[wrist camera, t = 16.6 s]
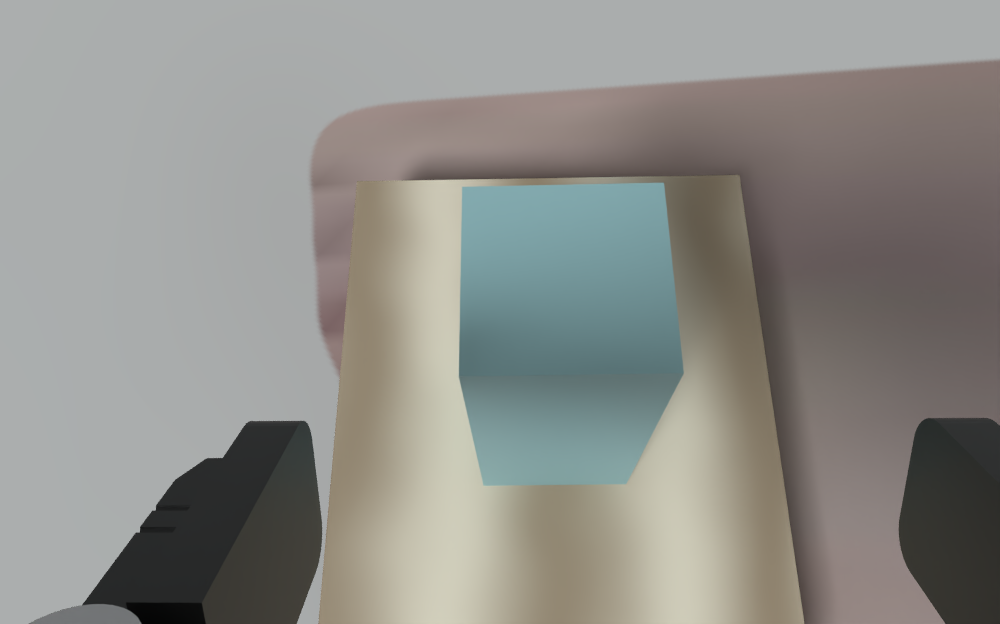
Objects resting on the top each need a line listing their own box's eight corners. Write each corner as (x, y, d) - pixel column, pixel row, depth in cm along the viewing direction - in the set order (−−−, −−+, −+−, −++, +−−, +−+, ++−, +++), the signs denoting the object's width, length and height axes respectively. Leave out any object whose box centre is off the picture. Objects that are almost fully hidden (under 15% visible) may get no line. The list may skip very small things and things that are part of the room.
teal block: (616, 351, 27) (664, 182, 18) (626, 484, 25) (683, 373, 16) (484, 353, 27) (462, 186, 18) (483, 485, 25) (458, 376, 16)
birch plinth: (715, 230, 33) (739, 175, 29) (778, 723, 26) (820, 731, 22) (375, 235, 33) (356, 181, 30) (339, 722, 26) (308, 730, 22)
